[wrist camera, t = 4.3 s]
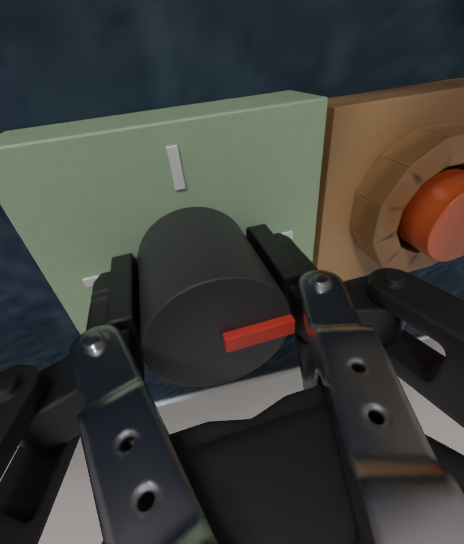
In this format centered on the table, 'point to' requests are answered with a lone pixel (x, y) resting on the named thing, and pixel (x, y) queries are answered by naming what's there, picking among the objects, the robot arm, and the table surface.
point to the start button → (436, 217)
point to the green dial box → (159, 180)
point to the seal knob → (206, 300)
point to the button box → (382, 172)
